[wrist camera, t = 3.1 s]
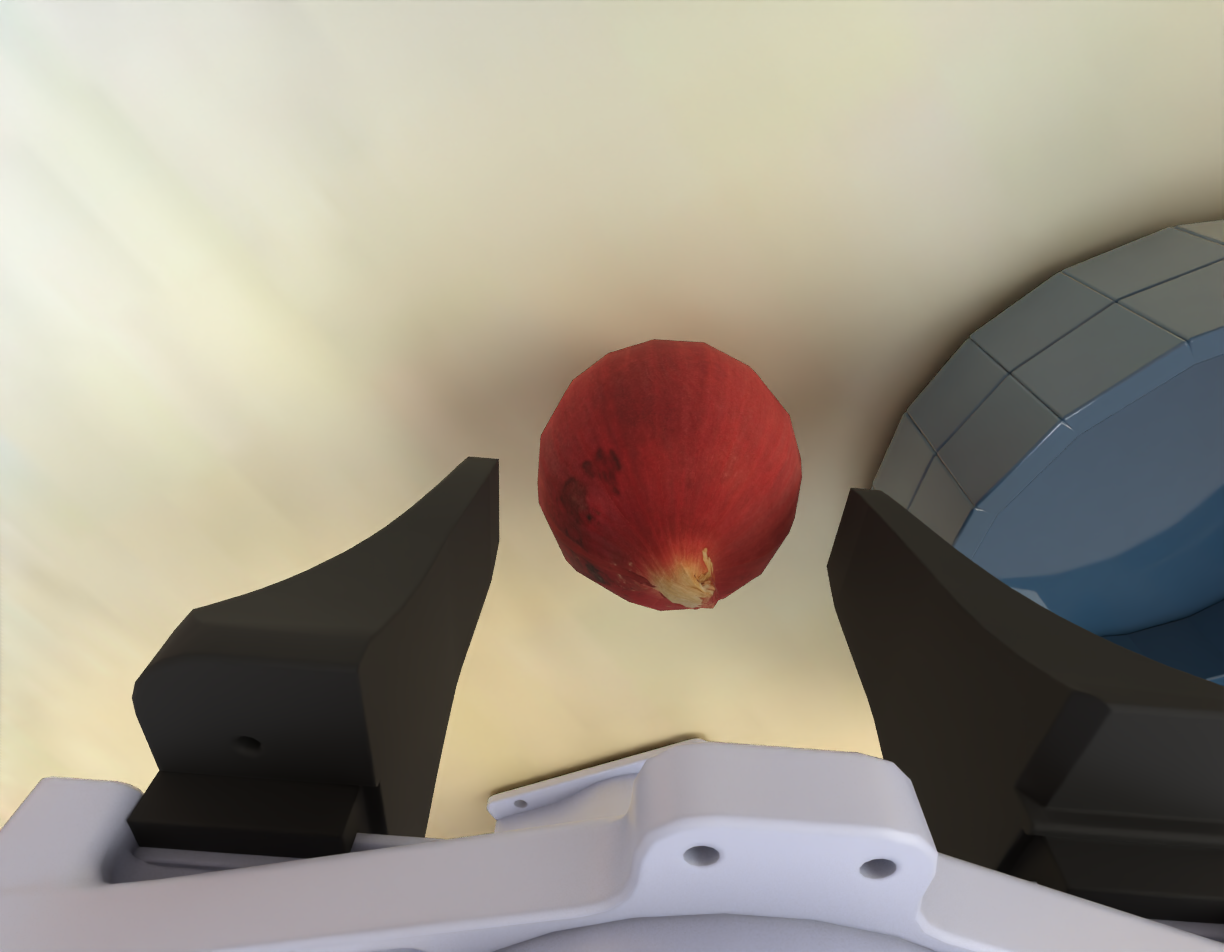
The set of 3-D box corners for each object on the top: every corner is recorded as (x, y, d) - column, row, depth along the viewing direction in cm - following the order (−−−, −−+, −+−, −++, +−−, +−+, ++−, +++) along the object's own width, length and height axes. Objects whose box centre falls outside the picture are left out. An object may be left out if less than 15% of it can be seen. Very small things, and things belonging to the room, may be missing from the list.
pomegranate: (598, 512, 21) (581, 738, 14) (519, 339, 18) (451, 519, 11) (791, 456, 20) (873, 675, 13) (738, 262, 17) (808, 412, 10)
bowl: (926, 714, 25) (984, 850, 21) (797, 366, 18) (845, 465, 14) (1414, 583, 22) (1605, 717, 17) (1482, 85, 15) (1829, 105, 10)
